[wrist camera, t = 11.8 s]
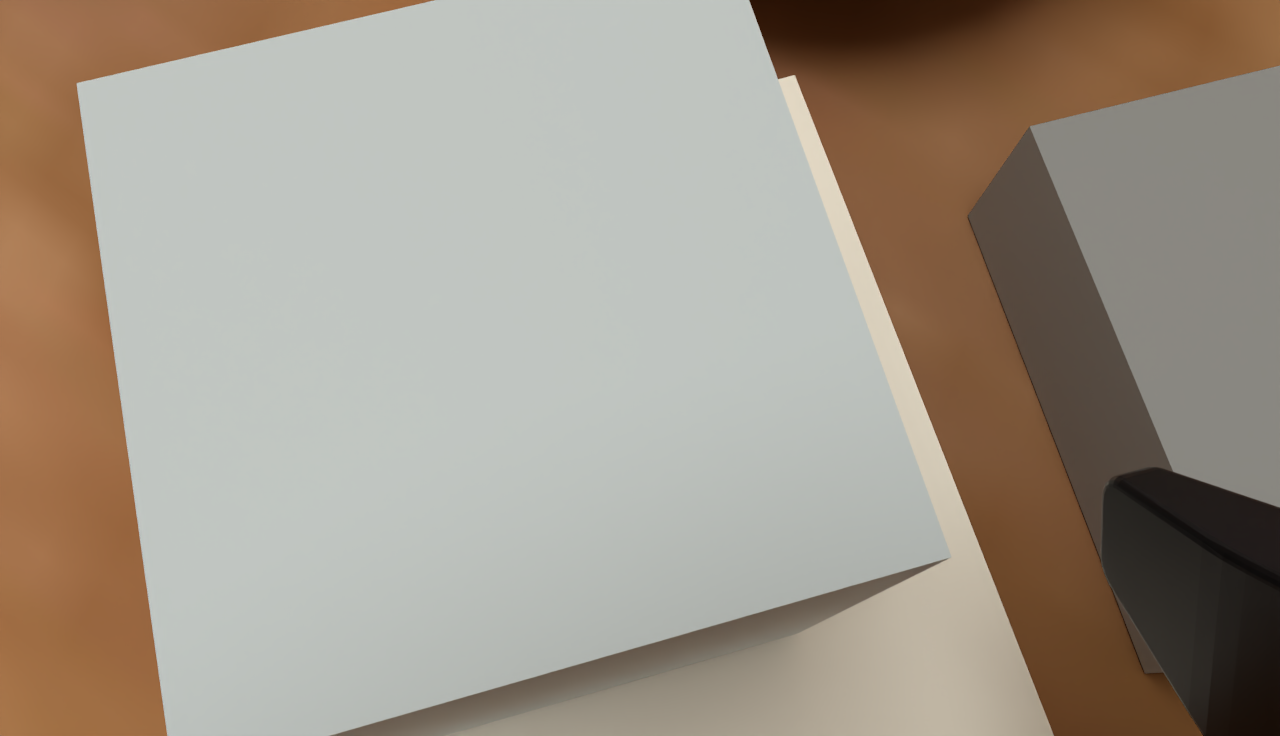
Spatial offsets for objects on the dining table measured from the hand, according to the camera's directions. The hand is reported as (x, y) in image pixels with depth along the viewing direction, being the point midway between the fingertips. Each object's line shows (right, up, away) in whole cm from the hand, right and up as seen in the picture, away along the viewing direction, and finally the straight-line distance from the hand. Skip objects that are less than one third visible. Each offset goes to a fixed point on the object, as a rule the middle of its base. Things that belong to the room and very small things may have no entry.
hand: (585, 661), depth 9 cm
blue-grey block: (-1, +1, +5) cm, 6 cm away
